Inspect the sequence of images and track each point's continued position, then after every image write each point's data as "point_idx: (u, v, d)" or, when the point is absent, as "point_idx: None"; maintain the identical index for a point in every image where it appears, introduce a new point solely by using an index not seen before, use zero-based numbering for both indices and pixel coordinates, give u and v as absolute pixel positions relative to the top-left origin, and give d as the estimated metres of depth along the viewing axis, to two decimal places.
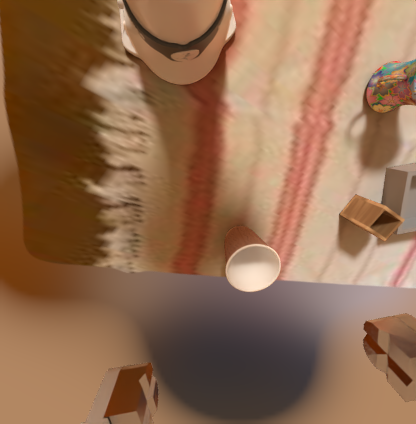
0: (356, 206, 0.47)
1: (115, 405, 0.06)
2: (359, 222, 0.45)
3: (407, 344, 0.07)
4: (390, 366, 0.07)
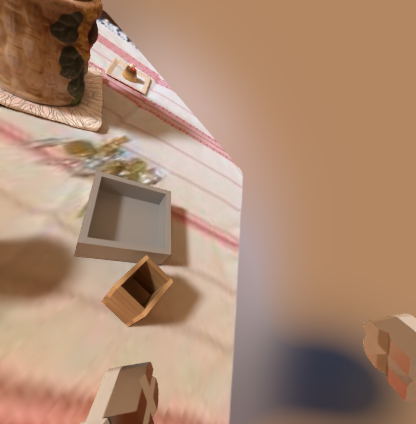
0: (117, 308, 0.30)
1: (115, 406, 0.06)
2: (137, 316, 0.28)
3: (407, 344, 0.07)
4: (390, 366, 0.07)
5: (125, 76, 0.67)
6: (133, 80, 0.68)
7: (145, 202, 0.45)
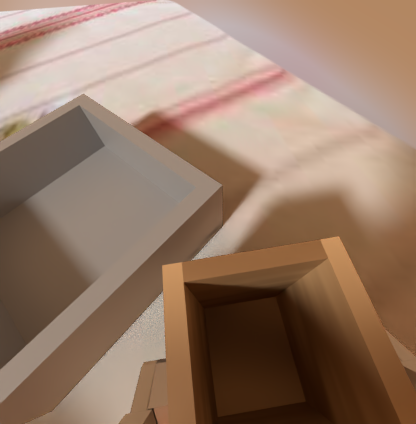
0: None
1: (158, 397, 0.06)
2: None
3: None
4: None
5: None
6: None
7: (78, 166, 0.18)
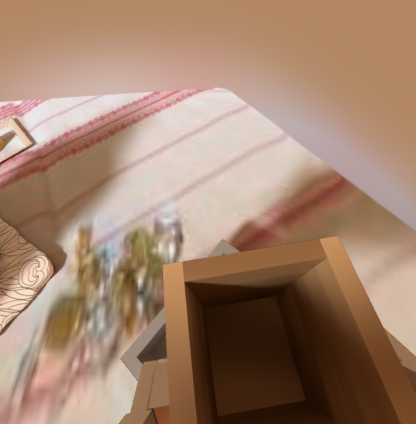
0: None
1: (158, 397, 0.06)
2: None
3: None
4: None
5: None
6: (1, 145, 0.41)
7: None
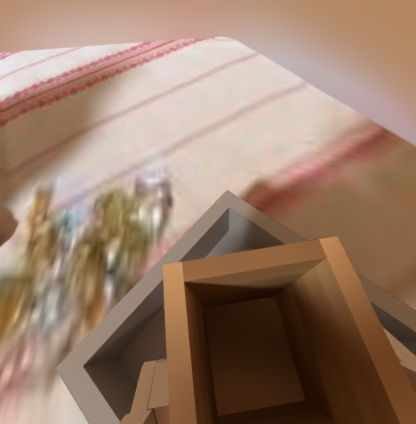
0: None
1: (158, 398, 0.06)
2: None
3: None
4: None
5: None
6: None
7: None
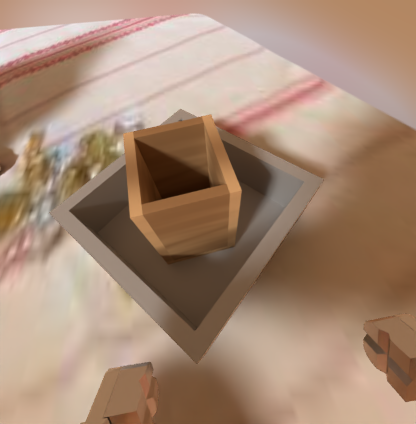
0: (193, 245, 0.15)
1: (115, 405, 0.06)
2: (230, 213, 0.12)
3: (407, 344, 0.07)
4: (390, 366, 0.07)
5: None
6: None
7: None
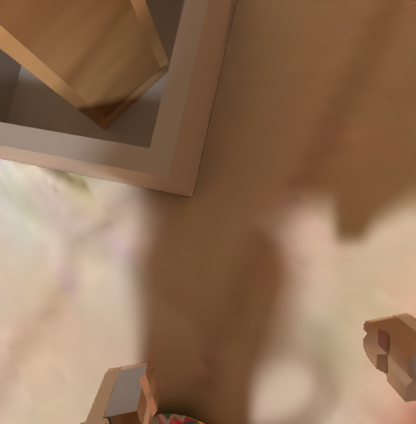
0: (108, 71, 0.11)
1: (115, 405, 0.06)
2: None
3: (407, 344, 0.07)
4: (390, 366, 0.07)
5: None
6: None
7: None
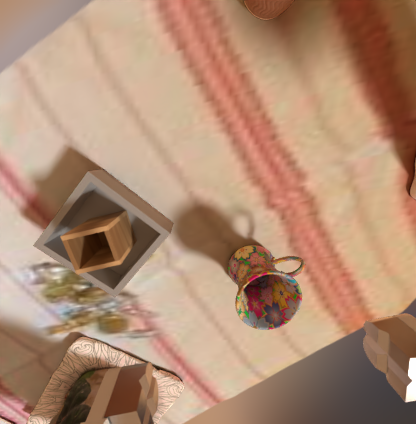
0: (127, 233, 0.33)
1: (115, 405, 0.06)
2: (114, 224, 0.29)
3: (407, 344, 0.07)
4: (390, 366, 0.07)
5: None
6: None
7: None
